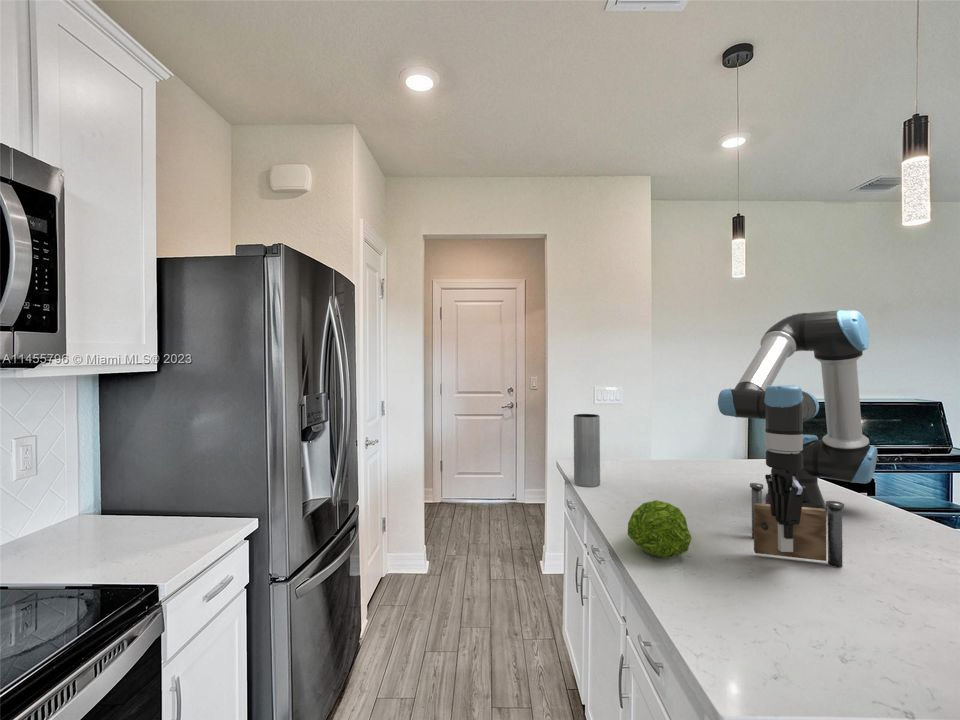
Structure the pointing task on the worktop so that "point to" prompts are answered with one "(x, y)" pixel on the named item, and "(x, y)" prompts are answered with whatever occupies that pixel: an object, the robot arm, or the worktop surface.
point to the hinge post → (835, 533)
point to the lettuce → (659, 529)
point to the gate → (805, 535)
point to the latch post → (755, 499)
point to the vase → (587, 450)
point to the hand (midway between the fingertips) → (785, 550)
